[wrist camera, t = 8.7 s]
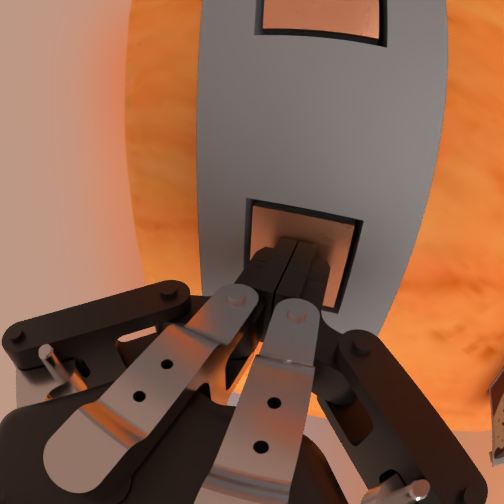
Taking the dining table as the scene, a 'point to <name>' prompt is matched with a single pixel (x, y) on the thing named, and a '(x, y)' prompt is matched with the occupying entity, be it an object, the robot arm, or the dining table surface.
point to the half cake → (497, 419)
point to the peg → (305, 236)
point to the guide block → (320, 140)
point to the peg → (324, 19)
